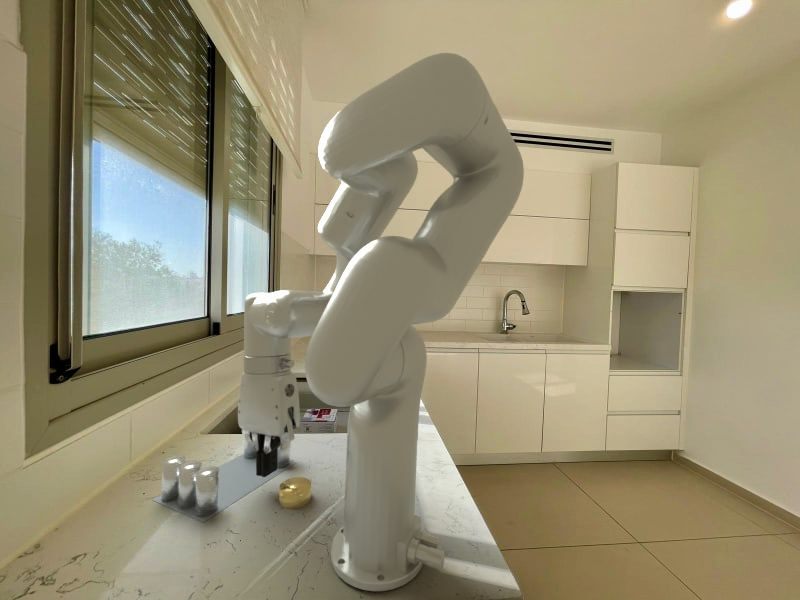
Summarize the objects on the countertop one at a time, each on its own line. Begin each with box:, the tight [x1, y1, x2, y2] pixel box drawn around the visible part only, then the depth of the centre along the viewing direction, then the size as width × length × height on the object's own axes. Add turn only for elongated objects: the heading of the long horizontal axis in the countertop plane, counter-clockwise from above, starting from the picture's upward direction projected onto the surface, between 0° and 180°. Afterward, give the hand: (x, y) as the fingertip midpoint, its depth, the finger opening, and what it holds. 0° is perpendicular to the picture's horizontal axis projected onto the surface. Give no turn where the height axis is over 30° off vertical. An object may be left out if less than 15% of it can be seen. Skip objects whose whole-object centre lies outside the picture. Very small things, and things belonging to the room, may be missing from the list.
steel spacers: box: [161, 435, 292, 517], centre depth 60 cm, size 11×19×6 cm, turn 157°
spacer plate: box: [151, 453, 297, 523], centre depth 60 cm, size 12×20×1 cm, turn 157°
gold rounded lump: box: [278, 476, 312, 510], centre depth 54 cm, size 5×5×3 cm
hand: (267, 472), depth 56 cm, fingers closed
